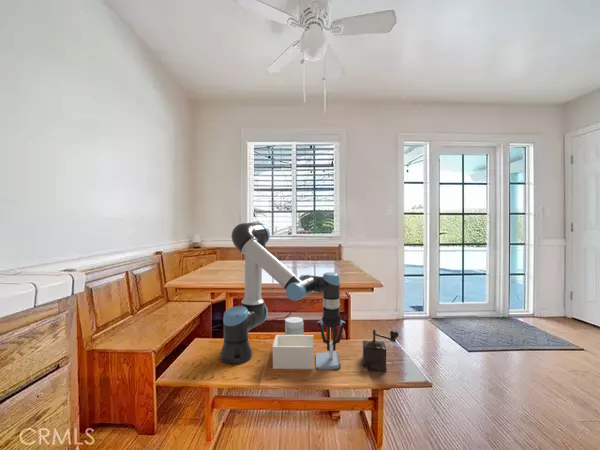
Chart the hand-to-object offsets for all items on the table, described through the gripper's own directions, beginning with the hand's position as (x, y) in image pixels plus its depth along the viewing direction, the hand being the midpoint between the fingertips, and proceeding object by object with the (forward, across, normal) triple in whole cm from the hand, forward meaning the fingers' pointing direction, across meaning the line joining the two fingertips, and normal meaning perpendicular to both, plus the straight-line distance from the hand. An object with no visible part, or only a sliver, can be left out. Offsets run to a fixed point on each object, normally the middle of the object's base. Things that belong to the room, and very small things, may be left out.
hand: (331, 357), depth 153 cm
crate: (+3, -17, 0) cm, 18 cm away
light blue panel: (+2, -7, 0) cm, 7 cm away
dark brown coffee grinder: (+4, +22, -1) cm, 22 cm away
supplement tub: (+4, -18, +18) cm, 26 cm away
